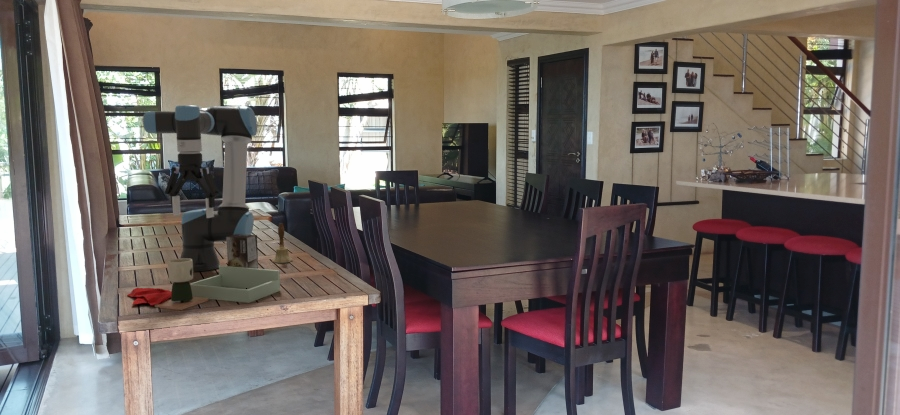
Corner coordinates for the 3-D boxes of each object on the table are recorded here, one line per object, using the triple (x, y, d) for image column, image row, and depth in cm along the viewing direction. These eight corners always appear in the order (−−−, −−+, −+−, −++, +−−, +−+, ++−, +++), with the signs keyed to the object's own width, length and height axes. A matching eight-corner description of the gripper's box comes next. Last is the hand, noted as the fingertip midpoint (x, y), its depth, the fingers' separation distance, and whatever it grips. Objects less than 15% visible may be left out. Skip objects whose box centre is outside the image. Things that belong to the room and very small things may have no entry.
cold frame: (187, 296, 219) (186, 275, 218) (221, 285, 235) (220, 265, 234) (248, 302, 211) (248, 280, 210) (280, 290, 227) (279, 270, 226)
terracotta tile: (154, 307, 206) (154, 304, 206) (182, 297, 217) (182, 295, 217) (181, 309, 202) (181, 307, 202) (208, 300, 214) (208, 298, 214)
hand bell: (268, 262, 277) (266, 224, 275) (280, 258, 284) (278, 221, 282) (284, 263, 274) (283, 225, 272) (296, 260, 281) (295, 222, 279)
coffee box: (259, 278, 246) (258, 234, 245) (248, 282, 240) (247, 237, 238) (238, 276, 249) (236, 233, 247) (227, 280, 243) (225, 236, 241)
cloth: (180, 301, 209) (180, 294, 208) (131, 308, 202) (131, 300, 202) (170, 287, 231) (169, 280, 231) (125, 292, 224) (125, 286, 224)
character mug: (197, 303, 207) (195, 262, 205) (172, 306, 203) (170, 264, 202) (191, 296, 216) (189, 256, 215) (167, 298, 213) (165, 258, 211)
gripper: (151, 152, 222) (155, 216, 225) (213, 154, 213) (216, 220, 217) (167, 151, 229) (171, 212, 232) (228, 152, 220) (231, 216, 224)
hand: (193, 216), depth 224 cm, fingers open, 13 cm apart
